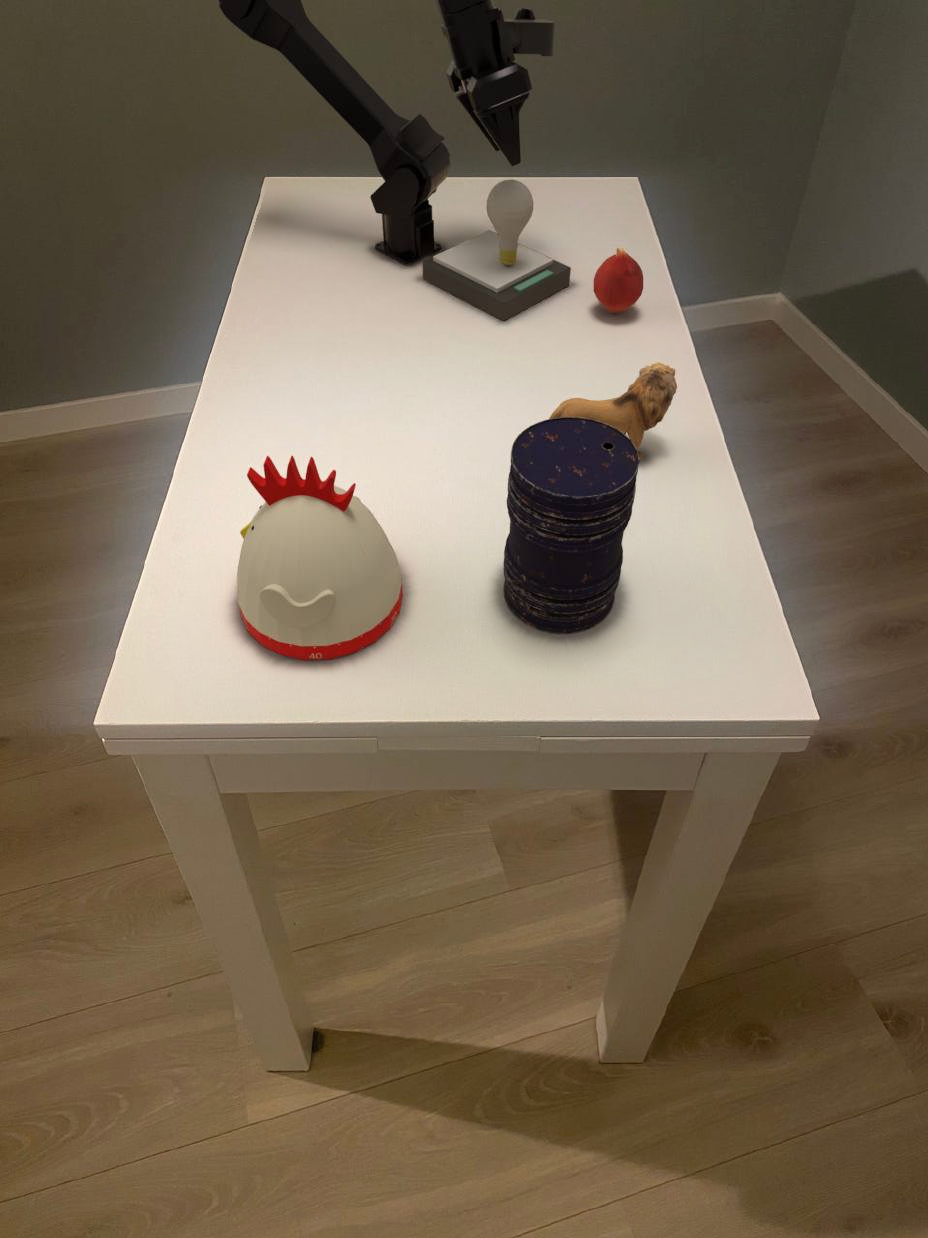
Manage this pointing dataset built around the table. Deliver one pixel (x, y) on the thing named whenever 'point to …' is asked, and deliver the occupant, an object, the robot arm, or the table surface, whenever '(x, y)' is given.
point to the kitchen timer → (315, 567)
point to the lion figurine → (629, 404)
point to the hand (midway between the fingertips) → (507, 156)
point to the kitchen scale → (495, 275)
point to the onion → (618, 282)
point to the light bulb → (509, 215)
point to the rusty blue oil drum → (567, 522)
